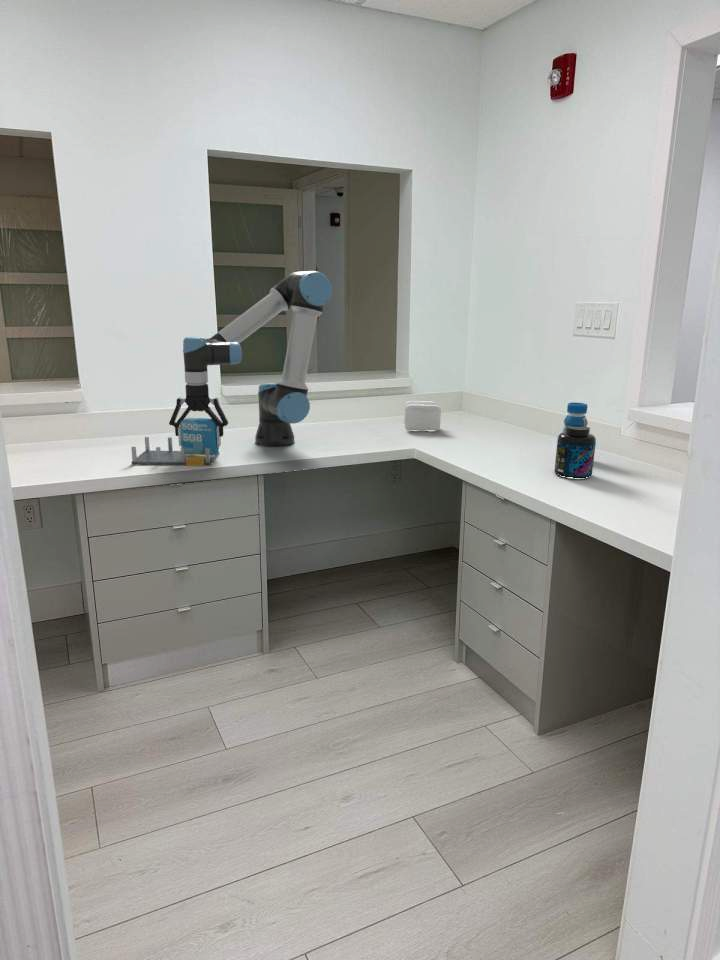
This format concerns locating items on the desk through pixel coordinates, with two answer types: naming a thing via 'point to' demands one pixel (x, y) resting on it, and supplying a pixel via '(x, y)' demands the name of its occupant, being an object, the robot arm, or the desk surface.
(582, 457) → the container
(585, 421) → the beverage bottle
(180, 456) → the panel rack
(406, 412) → the cable organizer
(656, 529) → the desk surface
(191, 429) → the data package
